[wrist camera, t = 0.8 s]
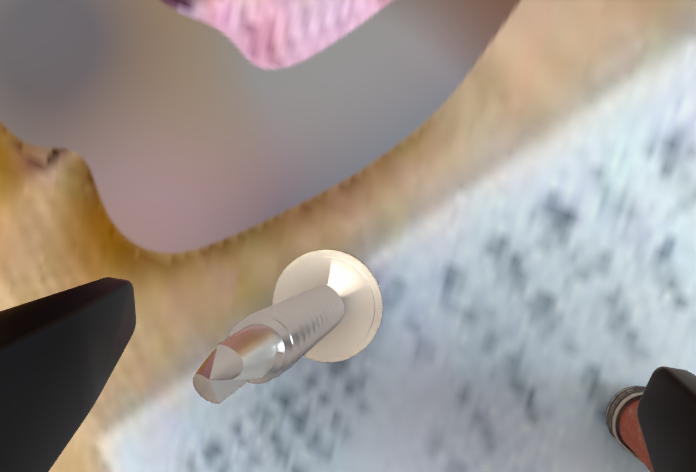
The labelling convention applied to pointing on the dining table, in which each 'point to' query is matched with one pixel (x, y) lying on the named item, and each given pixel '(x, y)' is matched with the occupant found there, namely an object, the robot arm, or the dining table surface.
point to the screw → (298, 324)
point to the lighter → (628, 423)
